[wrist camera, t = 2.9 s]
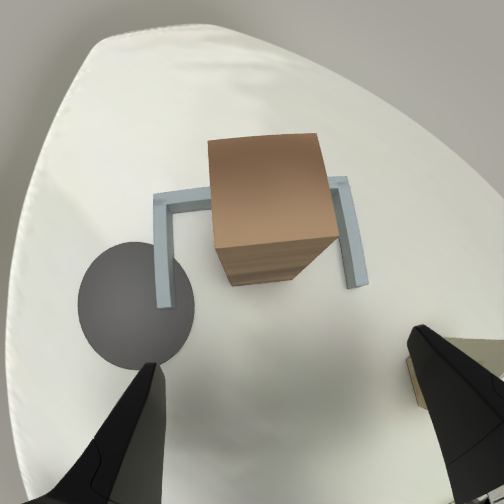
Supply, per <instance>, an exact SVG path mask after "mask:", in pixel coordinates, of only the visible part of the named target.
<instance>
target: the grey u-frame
mask: <svg viewBox="0 0 504 504" xmlns="http://www.w3.org/2000/svg"><path fill="white" fill-rule="evenodd" d="M327 178H328V183H329V187H330V192H331V196H332V201H333V206H334V211H335V216H336V221H337V226H338V231H339V239H340V245H341V251H342V257H343V263H344V269H345V275H346V282H347V289H350V288H357V287H361V286H364V285H367V284H369V282H368V275H367V269H366V263H365V257H364V252H363V246H362V241H361V236H360V231H359V226H358V221H357V217H356V212H355V207H354V203H353V199H352V194H351V190H350V186H349V182H348V178H347V176H337V177H327ZM205 209H212V205H211V190H210V187H202V188H194V189H186V190H178V191H171V192H164V193H157V194H153V232H154V264H155V284H156V299H157V308H160V309H169V308H176V299H175V286H174V271H173V258H174V249H173V225H172V214H173V213H180V212H189V211H197V210H205Z"/></svg>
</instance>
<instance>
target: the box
mask: <svg viewBox="0 0 504 504" xmlns="http://www.w3.org/2000/svg"><path fill="white" fill-rule="evenodd" d="M443 338H444V339H446V340H447V341H449V342H450V343H451V344H453V345H454V346H456V347H457V348H458V349H460V350H461V351H463V352H464V353H465V354H467V355H468V356H470V357H471V358H472V359H474V360H475V361H476V362H478V363H479V364H481V365H482V366H483V367H485V368H486V369H487V370H489V371H490V372H491V373H493V374H494V375H496V376H497V377H498V378H500V379H501V380H503V381H504V340H485V339H463V338H446V337H443ZM407 364H408V368H409V371H410V375H411V379H412V383H413V387H414V390H415V394H416V398H417V402H418V405H419V406H420V407H422V408H424V409H426V410H428V409H427V406H426V403H425V400H424V398H423V395H422V392H421V390H420V387H419V384H418V382H417V378H416V375H415V371H414V368H413V364H412V361H411V357H410V358H408V359H407Z"/></svg>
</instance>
